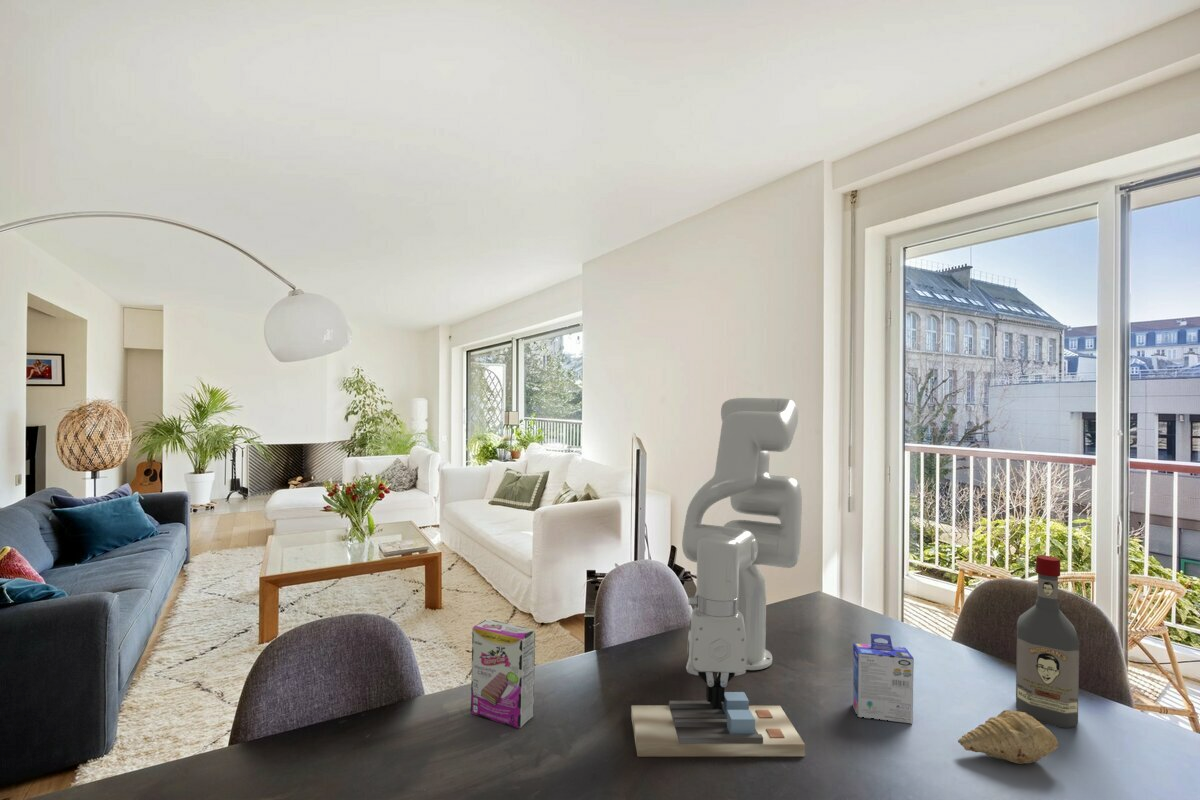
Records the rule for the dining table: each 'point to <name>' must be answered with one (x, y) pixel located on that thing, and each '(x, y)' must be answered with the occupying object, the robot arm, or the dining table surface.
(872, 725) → the dining table surface
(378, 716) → the dining table surface
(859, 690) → the ink cartridge box
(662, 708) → the switch board
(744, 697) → the tab
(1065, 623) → the liquor
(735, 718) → the tab
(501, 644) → the candy bar box
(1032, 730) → the seashell
